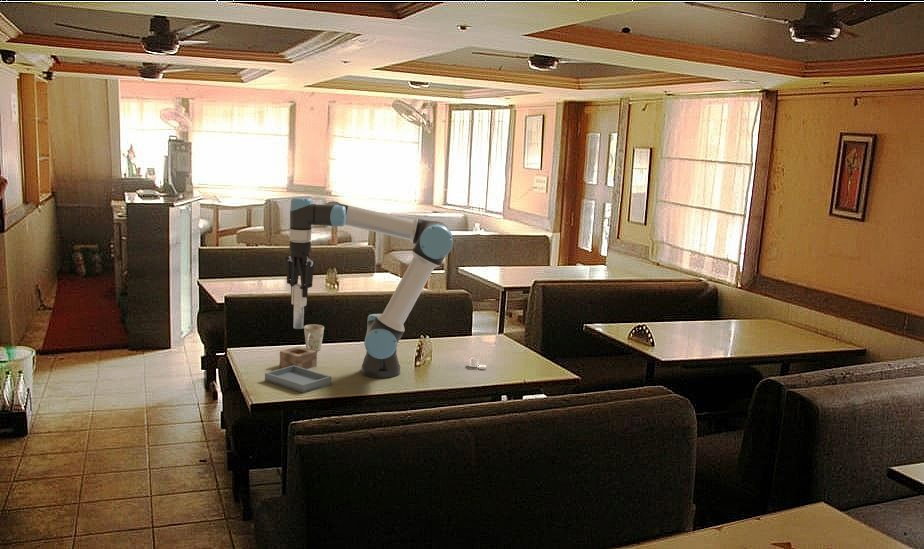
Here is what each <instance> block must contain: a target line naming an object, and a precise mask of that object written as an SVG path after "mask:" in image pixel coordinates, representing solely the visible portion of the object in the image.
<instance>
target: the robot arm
mask: <svg viewBox="0 0 924 549" xmlns="http://www.w3.org/2000/svg"><path fill="white" fill-rule="evenodd" d="M312 226H326V227H334V228H335V227H344V226H348V227H352V228H357V229H361V230H365V231H369V232H370V231H371V232H374V233H378V234H383V235H387V236H391V237H395V238H398V239H404V240H409V241H410V243H412V244H414V247H413V248H412V250H411V252H412V255H413V256H412V258H411V260H410V263H409V265H408V266H407V269H406V270H405V272H404V274H403V275H402V278H401V279H400V281H399V283H398V284H397V286H396V288H395V290H394V292H393V294H392V296H391V298H390V299H389V302H388V303H387V305H386V307H385V308H384V310H383V312H382V313H372V314H369V315H368V316H367V321H366V323H367V325H366V326H367V327H366V328H367V329H366V334H365V337H364V347H365V349H366V351H365V352H366V354H365V356H364V358H363V362H362V364H361V370H360V371H361V374H363V375H364V376H367V377H370V378H371V377H372V378H379V379H381V378H393V377H396V376H399V375H400V374H401V365H400V362H399V358H398V354H397V351H398V349H397V348H398V344H399V342H400V340H401V338H402V337H403V334H404V333H405V331H406V330H405V326H404V324H405V322H406V321H407V318H408V317H409V315H410V313H411V311H412V310H413V308H414V306H415V304H416V302H417V300H418V298H419V297H420V295H421V293H422V291H423V290H424V287H425V285H426V284H427V282H428V281H429V278H430V276H431V274H432V272H434V269H436V268H438V267H441V265H442V263H443V262H444V260H445V258H446V256H447V255H449V253H450V252H451V251H452V248H453V246H454V236H453V234H452V231H450V229H449V227H448V226H447V225H446V224H445V223H443V222H441V221H437V220H427V219H422V218H416V219H409V218H404V217H400V216H396V215H392V214H387V213H384V212H379V211H374V210H370V209H365V208H361V207H357V206H353V205H348V204H344V203H340V202H339V201H335V200H332V201H328V202H327V203H325V204H316V203H313V199H312V198H310V197H292V199H291V200H290V209H289V240H290V241H289V252H290V255H289V256H285V258H284V259H285V262H286V283H287V284H289V286H290V294H291V305H294V284H299V283H298V282H299V276H300V284H301V287H300V299H299V306H300V307H301V306H304V307H306V306H307V300H308V299H307V298H308V293H309V292H308V289H309V288H312V287H313V280H314V266H315V263H316V261H315V260H311V257H310V253H311V251H312V242H311V240H312Z"/></svg>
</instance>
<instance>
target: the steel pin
mask: <svg viewBox="0 0 924 549" xmlns="http://www.w3.org/2000/svg"><path fill="white" fill-rule="evenodd" d="M300 287H301V283H298V284H294V304H293V319H292V320H293V329H295V330H301V329H304V321H305V320H304V318H305V316H304V315H305V306H301V307H300V306H299V299H300Z"/></svg>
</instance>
